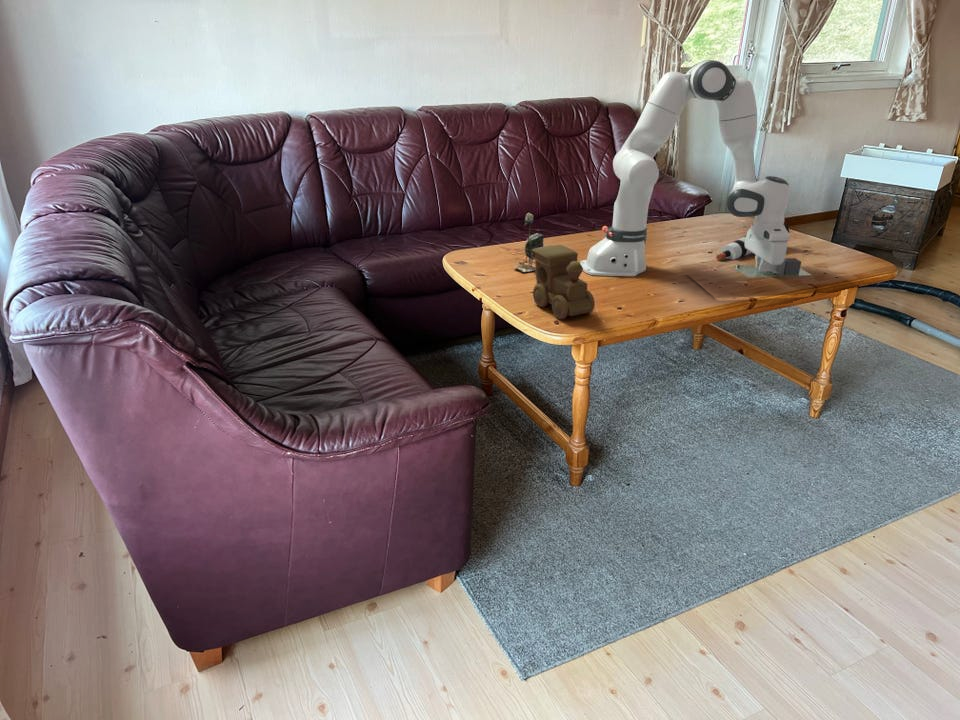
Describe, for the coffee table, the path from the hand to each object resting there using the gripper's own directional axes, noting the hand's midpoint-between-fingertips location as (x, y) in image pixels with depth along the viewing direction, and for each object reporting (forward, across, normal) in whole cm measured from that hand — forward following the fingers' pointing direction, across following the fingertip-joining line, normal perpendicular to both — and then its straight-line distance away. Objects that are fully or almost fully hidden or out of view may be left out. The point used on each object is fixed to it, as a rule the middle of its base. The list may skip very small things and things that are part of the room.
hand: (759, 269), depth 223 cm
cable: (+3, -22, +7) cm, 23 cm away
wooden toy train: (+2, +22, -72) cm, 75 cm away
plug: (+1, 0, +7) cm, 7 cm away
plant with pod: (+2, -16, -75) cm, 77 cm away
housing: (+2, -2, +5) cm, 6 cm away
